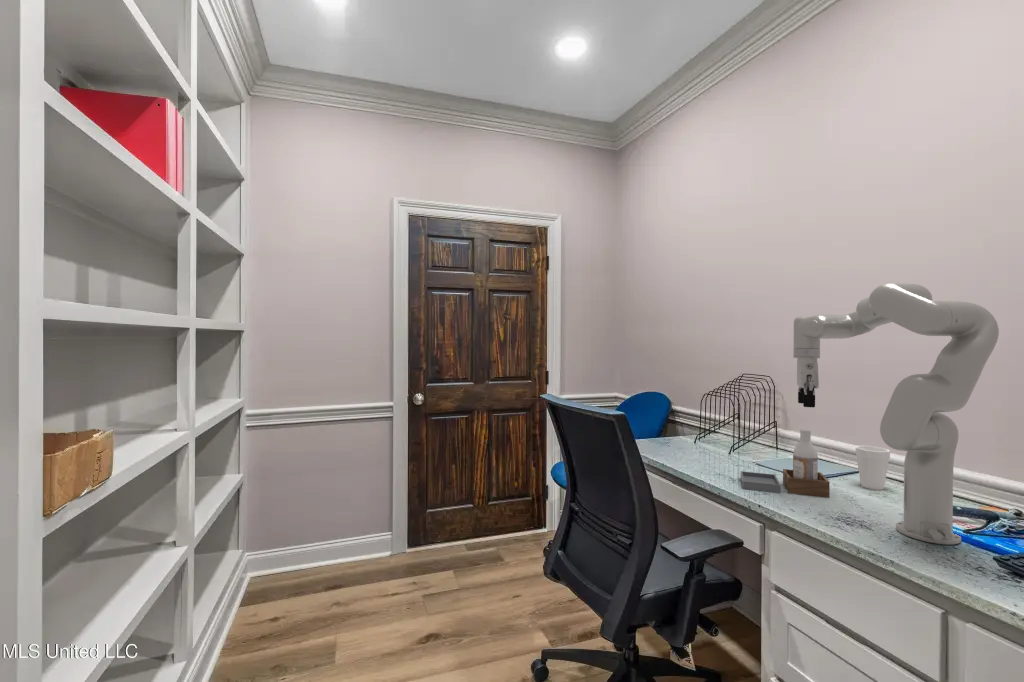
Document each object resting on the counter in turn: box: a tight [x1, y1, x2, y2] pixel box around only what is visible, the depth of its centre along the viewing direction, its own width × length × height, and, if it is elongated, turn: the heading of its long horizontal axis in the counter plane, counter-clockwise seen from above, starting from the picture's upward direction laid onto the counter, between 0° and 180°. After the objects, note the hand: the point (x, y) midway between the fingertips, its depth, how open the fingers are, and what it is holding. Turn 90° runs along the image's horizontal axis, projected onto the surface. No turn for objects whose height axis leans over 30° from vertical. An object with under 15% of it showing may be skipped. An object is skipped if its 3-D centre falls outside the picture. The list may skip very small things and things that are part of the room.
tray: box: [740, 470, 782, 494], centre depth 163 cm, size 13×11×3 cm
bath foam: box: [792, 429, 819, 480], centre depth 158 cm, size 7×7×20 cm
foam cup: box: [855, 445, 891, 491], centre depth 162 cm, size 10×9×13 cm
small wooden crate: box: [782, 468, 831, 498], centre depth 158 cm, size 11×11×5 cm
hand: (806, 405), depth 158 cm, fingers open, 9 cm apart
